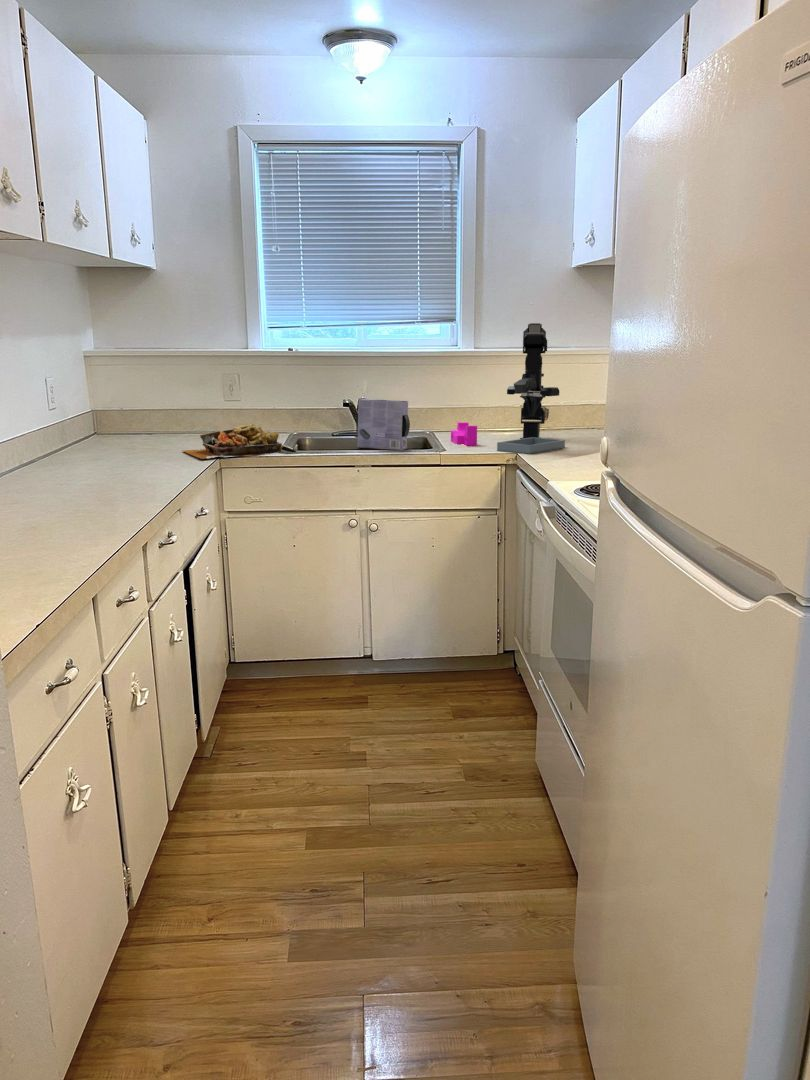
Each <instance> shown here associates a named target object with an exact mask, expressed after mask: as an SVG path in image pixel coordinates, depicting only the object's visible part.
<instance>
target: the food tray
mask: <svg viewBox="0 0 810 1080" xmlns="http://www.w3.org/2000/svg"><path fill="white" fill-rule="evenodd" d="M199 437H200V438H201V441H202V446H203V447H204V448H202V449H201V448H199V449H200V450H199V449H188V450H187V449H185V450H183V452H184V453H187V454H189V455H191V456H194V457H196V458H197V459H201V460H205V459H212V458H213V459H214V458H217V457H220V458H229V457H232V458H233V457H254V456H256V457H257V456H266V455H268V454H269V455H270V454H274V453H281V452H284V451H288V452H293V453H295V452H297V450H298V444H297V443H296V444H295V446H294V447H290V446H288V445H287V446H286V445H285V444H283V443H282V442H280V441H278V439H279V437H280V433H279V432H273V431H271V432H270V433H269V432H267V431H264V430H263V429H262V427H261V426H259V427H256V425H255V423H250V424H243V425H239V426H236V427H233V429H224V430H220V431H215V432H210V433H209V432H208V433H203V434H200V435H199Z"/></svg>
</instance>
